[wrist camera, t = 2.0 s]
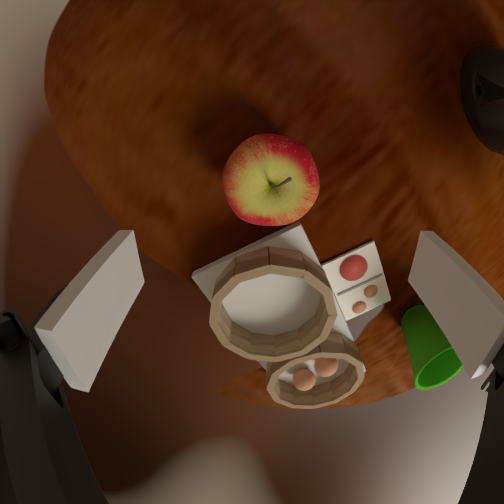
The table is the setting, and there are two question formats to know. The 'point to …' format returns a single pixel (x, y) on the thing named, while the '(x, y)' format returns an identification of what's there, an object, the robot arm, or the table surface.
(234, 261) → the ring
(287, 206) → the apple
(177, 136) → the table surface
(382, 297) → the card
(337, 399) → the ring
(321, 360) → the ball
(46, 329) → the robot arm
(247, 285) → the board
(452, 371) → the cup
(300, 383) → the ball
